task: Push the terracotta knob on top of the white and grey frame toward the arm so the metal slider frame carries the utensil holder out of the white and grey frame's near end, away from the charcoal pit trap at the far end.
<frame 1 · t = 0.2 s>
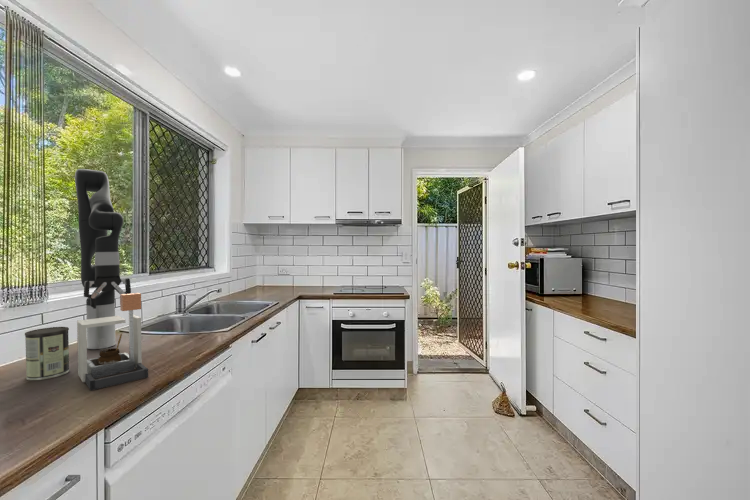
hand: (108, 307, 136), 18 cm above the countertop, tool pointing down, fingers open, 8 cm apart
white and grey frame: (110, 372, 115), on the countertop
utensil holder: (110, 372, 115), resting in slider
coffee can: (48, 375, 114), on the countertop
slider: (113, 332, 116), point 13 cm above the countertop, slide at 0.0 cm
pit trap: (117, 379, 109), on the countertop
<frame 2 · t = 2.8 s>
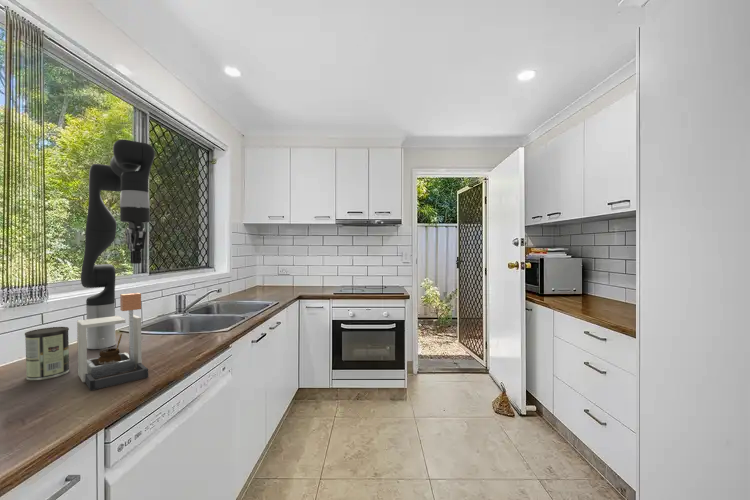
hand: (135, 263, 110), 35 cm above the countertop, tool pointing down, fingers closed
nothing on the countertop moved.
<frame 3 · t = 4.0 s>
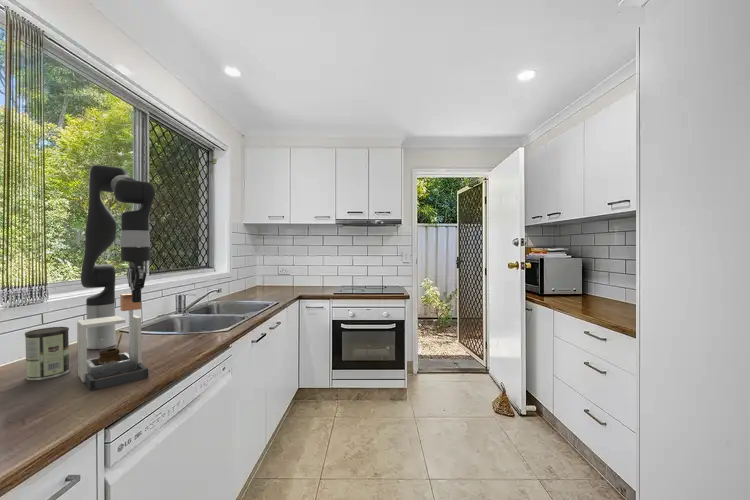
hand: (136, 302, 110), 23 cm above the countertop, tool pointing down, fingers closed
nothing on the countertop moved.
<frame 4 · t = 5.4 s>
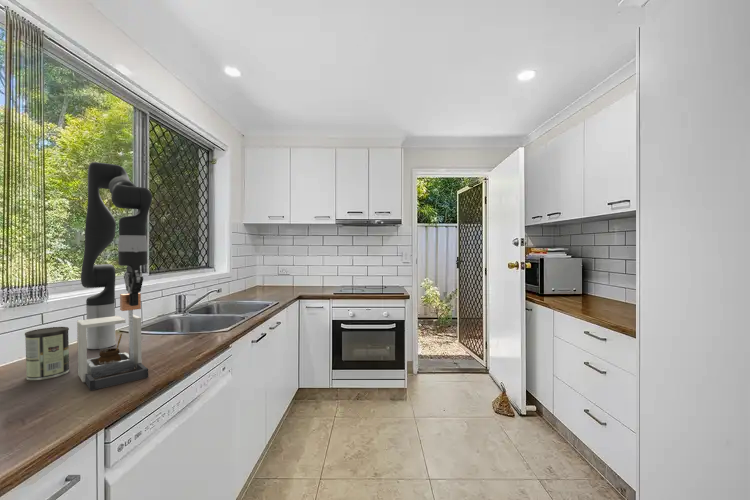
hand: (133, 305, 113), 22 cm above the countertop, tool pointing down, fingers closed
slider: (113, 331, 116), point 13 cm above the countertop, slide at -0.4 cm, touching gripper
everything else where it was.
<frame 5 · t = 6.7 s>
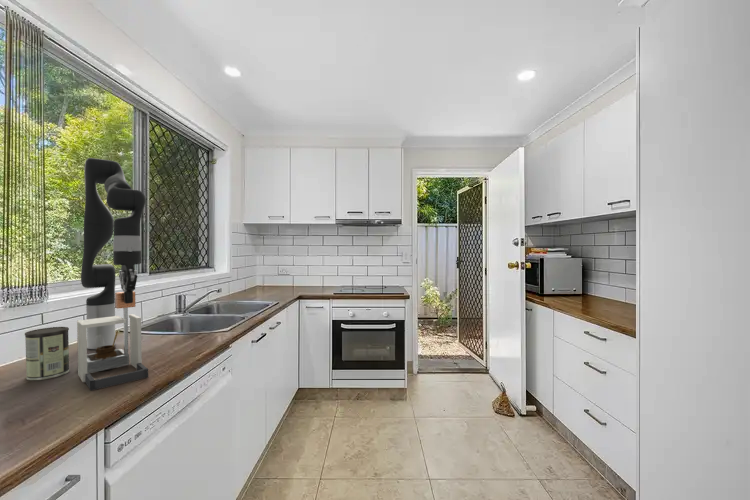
hand: (128, 303, 117), 22 cm above the countertop, tool pointing down, fingers closed
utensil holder: (106, 368, 119), resting in slider
slider: (108, 328, 121), point 13 cm above the countertop, slide at -7.1 cm, touching gripper, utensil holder
everything else where it was.
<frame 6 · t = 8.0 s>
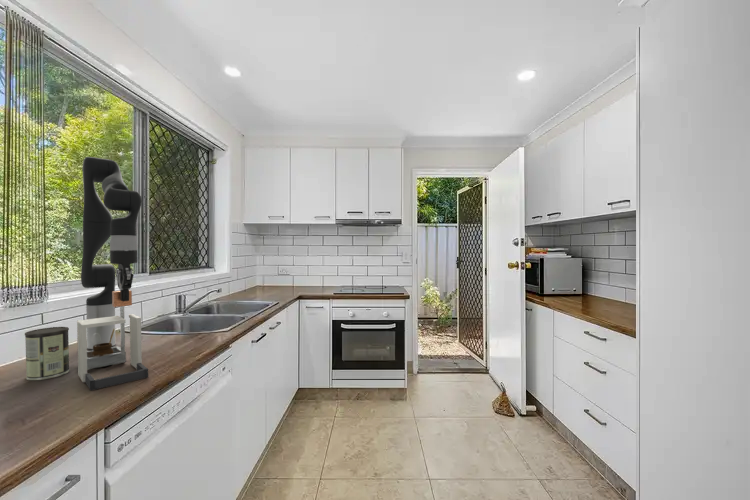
hand: (124, 300, 121), 22 cm above the countertop, tool pointing down, fingers closed
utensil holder: (103, 365, 123), resting in slider
slider: (105, 326, 124), point 13 cm above the countertop, slide at -11.9 cm, touching gripper, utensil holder
everything else where it was.
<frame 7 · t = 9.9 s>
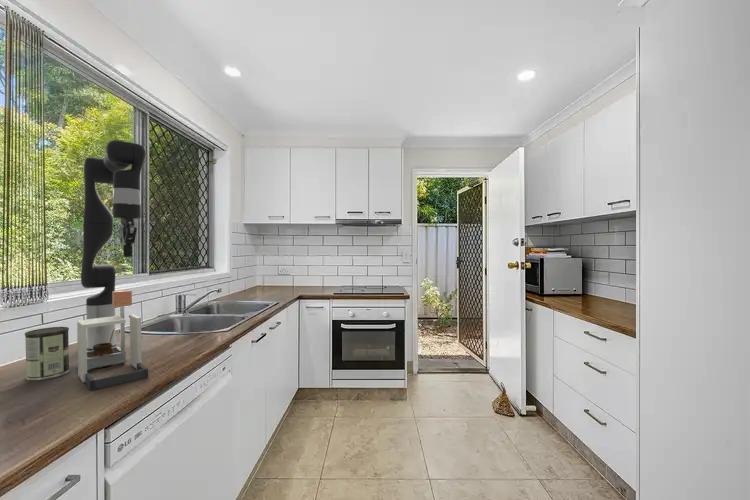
hand: (127, 256, 117), 37 cm above the countertop, tool pointing down, fingers closed
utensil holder: (103, 365, 123), resting in slider
slider: (105, 326, 124), point 13 cm above the countertop, slide at -11.9 cm
everything else where it was.
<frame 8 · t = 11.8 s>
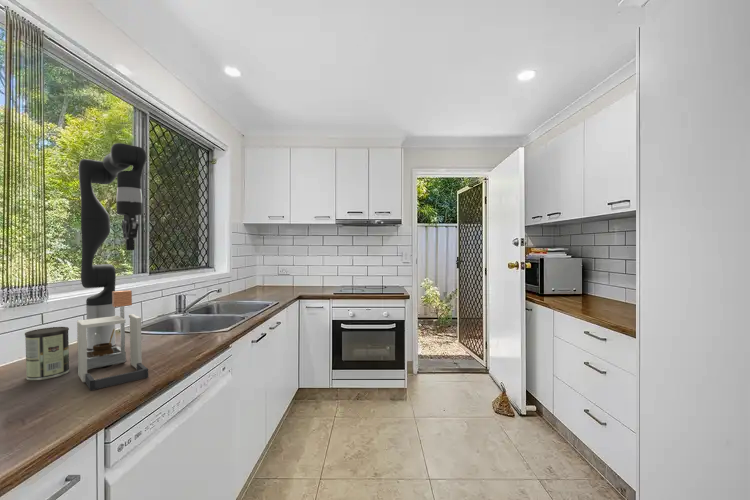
hand: (130, 250, 128), 39 cm above the countertop, tool pointing down, fingers closed
nothing on the countertop moved.
at the end: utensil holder inside the target area (1.2 cm from its centre), resting in slider; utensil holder tilted 0°; slider slide at -11.9 cm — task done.
